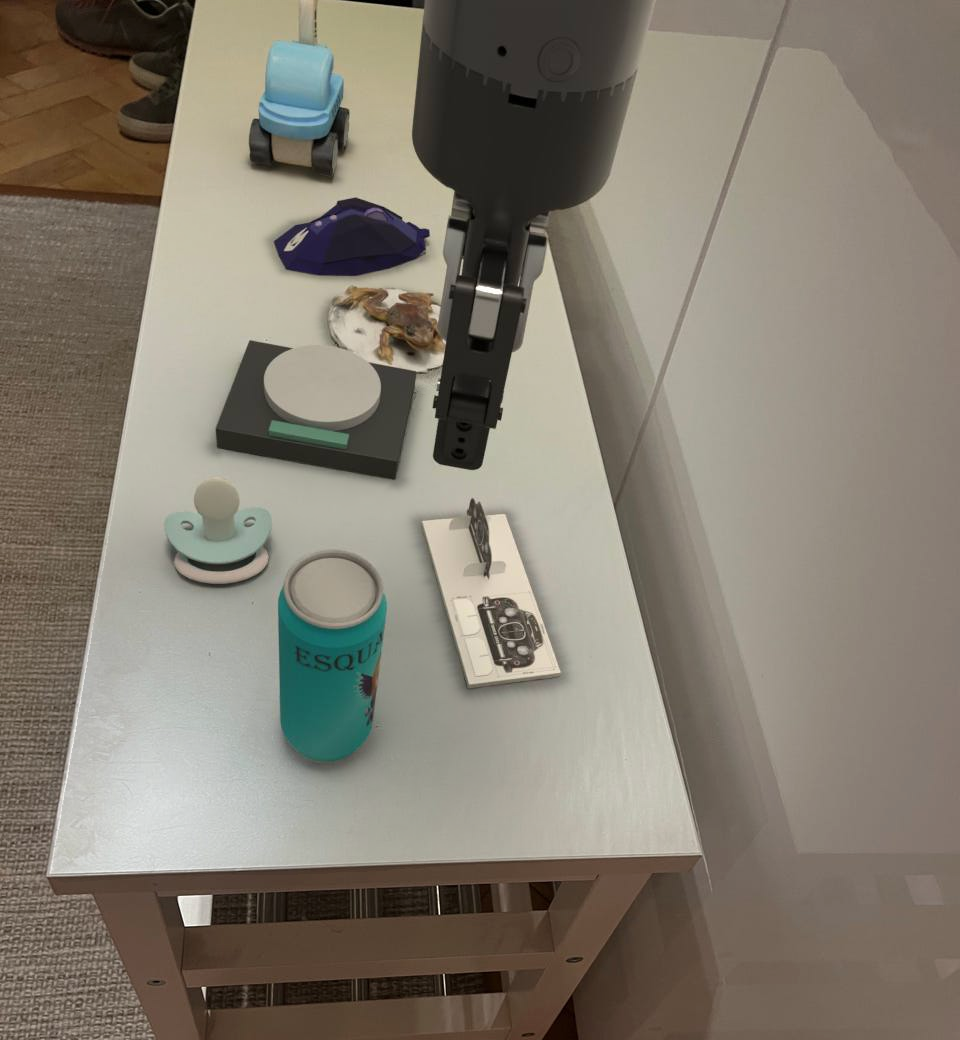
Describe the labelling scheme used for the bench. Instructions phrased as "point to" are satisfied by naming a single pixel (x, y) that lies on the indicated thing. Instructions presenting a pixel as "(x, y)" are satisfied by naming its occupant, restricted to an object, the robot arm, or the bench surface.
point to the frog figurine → (388, 327)
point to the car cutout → (488, 599)
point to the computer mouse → (351, 241)
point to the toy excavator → (301, 103)
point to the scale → (318, 408)
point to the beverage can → (329, 653)
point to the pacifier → (218, 534)
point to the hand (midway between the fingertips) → (467, 399)
